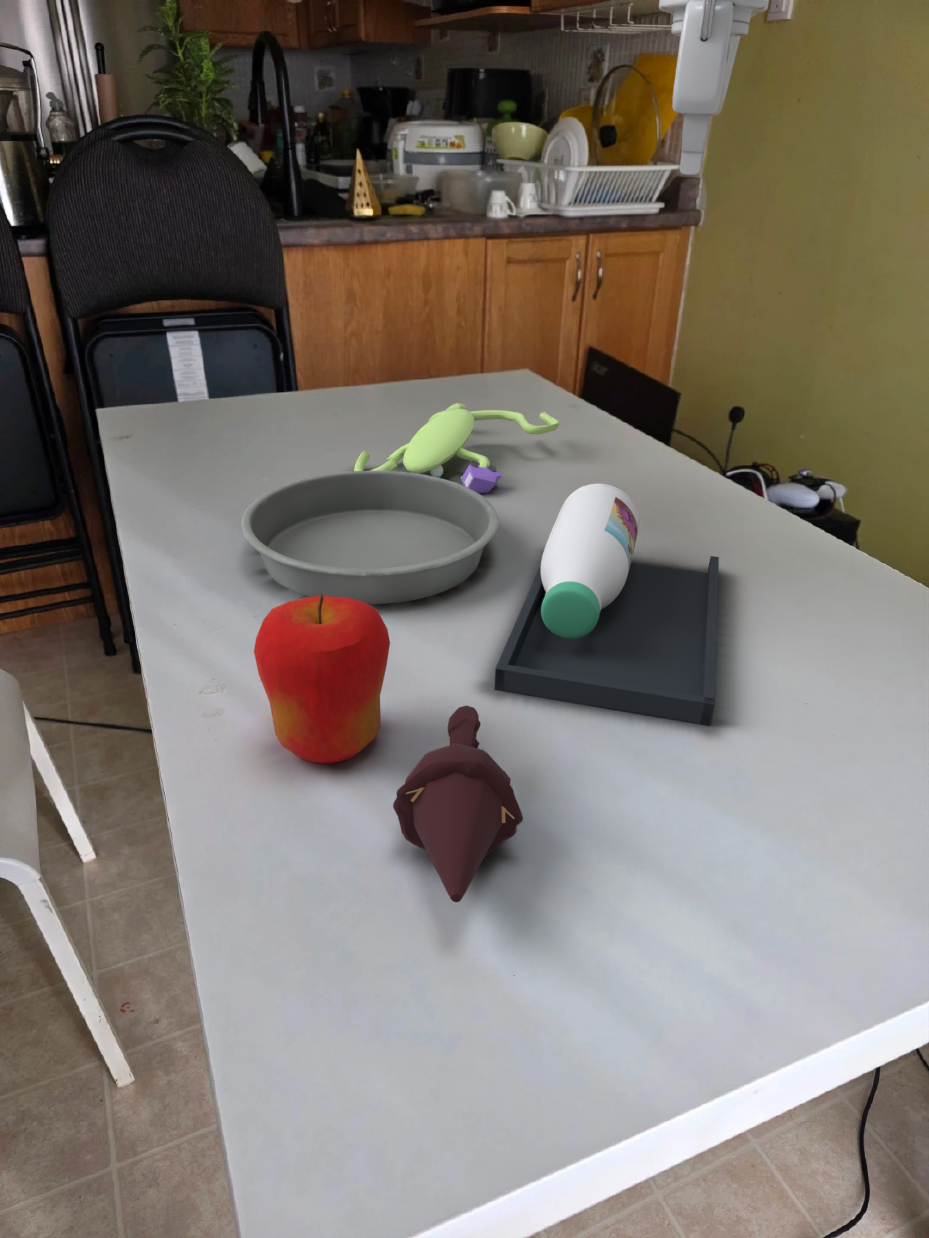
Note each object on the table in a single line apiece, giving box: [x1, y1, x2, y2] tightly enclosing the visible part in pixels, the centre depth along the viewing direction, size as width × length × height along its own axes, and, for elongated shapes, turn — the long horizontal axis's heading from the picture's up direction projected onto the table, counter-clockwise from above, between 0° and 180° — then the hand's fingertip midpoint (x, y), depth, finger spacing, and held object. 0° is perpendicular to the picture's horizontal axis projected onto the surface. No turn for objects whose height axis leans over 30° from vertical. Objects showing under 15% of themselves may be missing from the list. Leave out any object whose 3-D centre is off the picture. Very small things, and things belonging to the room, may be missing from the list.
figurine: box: [353, 402, 560, 494], centre depth 110 cm, size 18×27×6 cm
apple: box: [253, 593, 391, 765], centre depth 58 cm, size 9×8×12 cm
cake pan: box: [240, 469, 500, 605], centre depth 86 cm, size 25×25×4 cm
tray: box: [494, 555, 720, 727], centre depth 76 cm, size 26×16×2 cm, turn 165°
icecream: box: [392, 705, 524, 903], centre depth 51 cm, size 7×7×15 cm
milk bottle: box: [540, 483, 640, 639], centre depth 78 cm, size 8×8×20 cm
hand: (689, 174), depth 79 cm, fingers closed
